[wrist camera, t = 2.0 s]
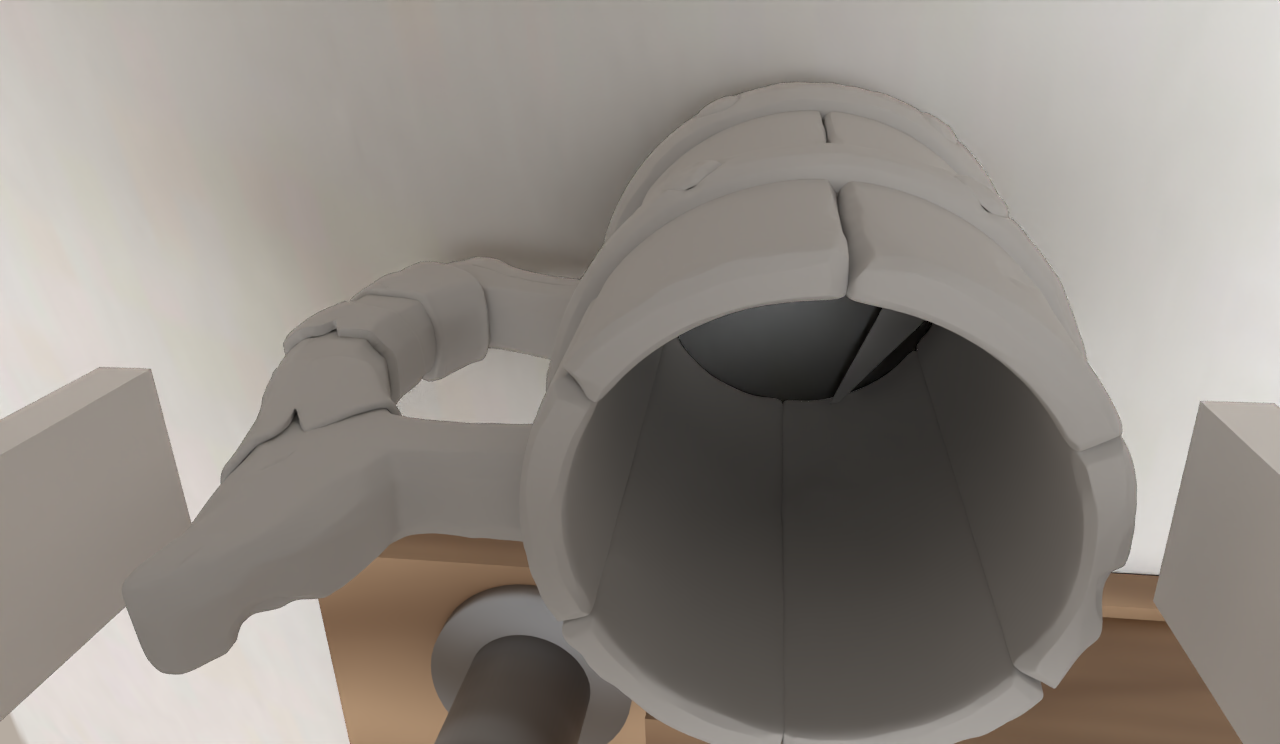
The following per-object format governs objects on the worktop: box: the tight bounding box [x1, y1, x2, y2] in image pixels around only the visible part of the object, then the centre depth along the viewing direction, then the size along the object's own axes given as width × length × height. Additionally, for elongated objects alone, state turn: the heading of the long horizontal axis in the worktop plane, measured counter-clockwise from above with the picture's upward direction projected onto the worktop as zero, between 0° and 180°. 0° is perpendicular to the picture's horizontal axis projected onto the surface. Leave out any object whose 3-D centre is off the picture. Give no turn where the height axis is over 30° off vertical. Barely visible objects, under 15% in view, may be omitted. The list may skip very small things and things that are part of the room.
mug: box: [122, 82, 1137, 744], centre depth 13 cm, size 8×12×12 cm, turn 91°
